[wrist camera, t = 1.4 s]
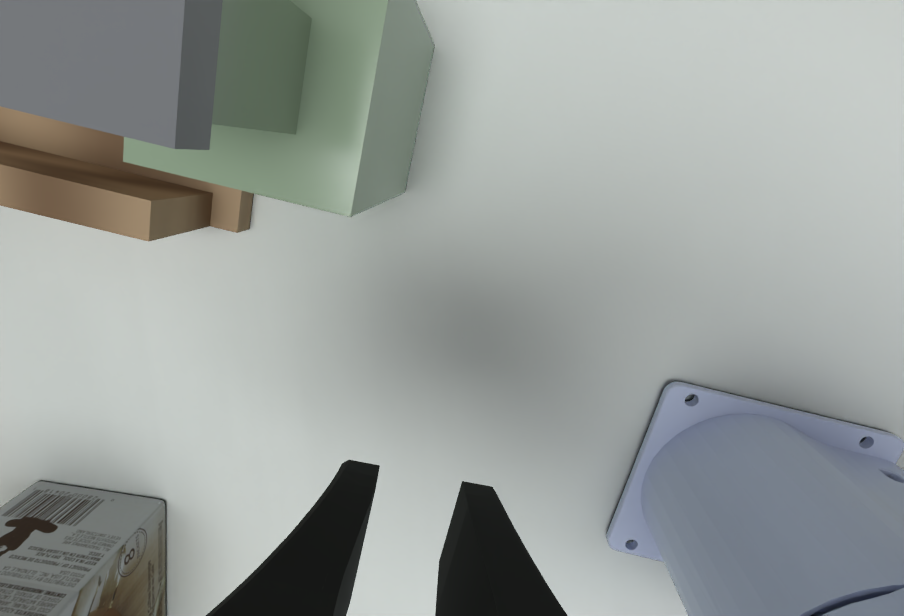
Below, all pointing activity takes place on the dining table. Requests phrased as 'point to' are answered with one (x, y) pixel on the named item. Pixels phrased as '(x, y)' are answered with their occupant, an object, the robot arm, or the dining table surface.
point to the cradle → (105, 183)
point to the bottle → (233, 88)
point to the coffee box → (81, 553)
